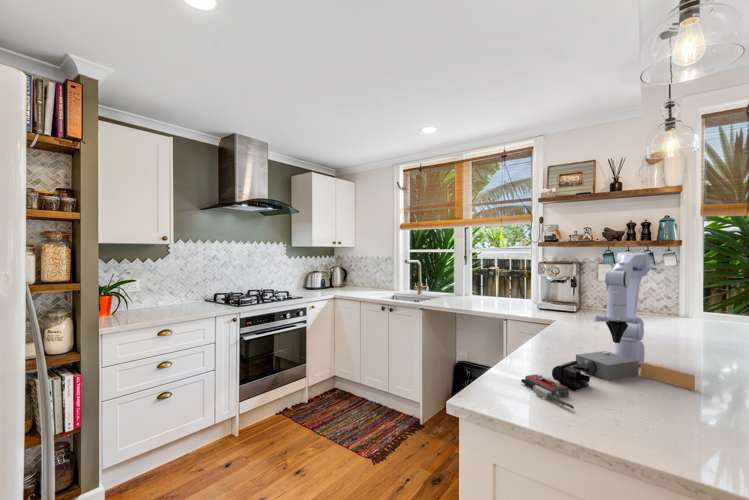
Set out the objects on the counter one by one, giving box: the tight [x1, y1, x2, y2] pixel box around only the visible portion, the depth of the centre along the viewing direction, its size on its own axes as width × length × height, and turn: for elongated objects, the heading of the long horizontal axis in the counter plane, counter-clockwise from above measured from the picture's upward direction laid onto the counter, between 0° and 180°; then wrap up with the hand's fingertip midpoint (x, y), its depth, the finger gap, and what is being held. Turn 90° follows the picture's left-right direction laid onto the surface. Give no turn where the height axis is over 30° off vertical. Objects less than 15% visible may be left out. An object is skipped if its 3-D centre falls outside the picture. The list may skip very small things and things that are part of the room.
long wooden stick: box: [640, 361, 696, 391], centre depth 113 cm, size 14×1×4 cm, turn 30°
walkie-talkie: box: [520, 373, 574, 409], centre depth 103 cm, size 9×4×20 cm
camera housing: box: [575, 350, 640, 381], centre depth 123 cm, size 17×12×6 cm
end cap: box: [551, 360, 591, 392], centre depth 111 cm, size 10×7×7 cm
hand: (616, 342), depth 123 cm, fingers closed
